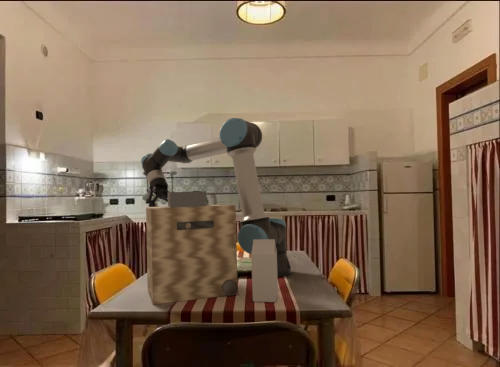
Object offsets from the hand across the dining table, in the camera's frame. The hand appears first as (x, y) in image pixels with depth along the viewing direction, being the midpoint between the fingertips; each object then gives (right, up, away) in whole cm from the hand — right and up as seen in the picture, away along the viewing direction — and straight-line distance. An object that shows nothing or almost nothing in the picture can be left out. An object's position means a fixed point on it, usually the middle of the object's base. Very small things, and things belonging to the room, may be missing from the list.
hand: (171, 219), depth 154 cm
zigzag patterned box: (+12, -23, -26) cm, 36 cm away
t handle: (+7, +7, -19) cm, 21 cm away
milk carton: (+38, -22, -36) cm, 57 cm away
